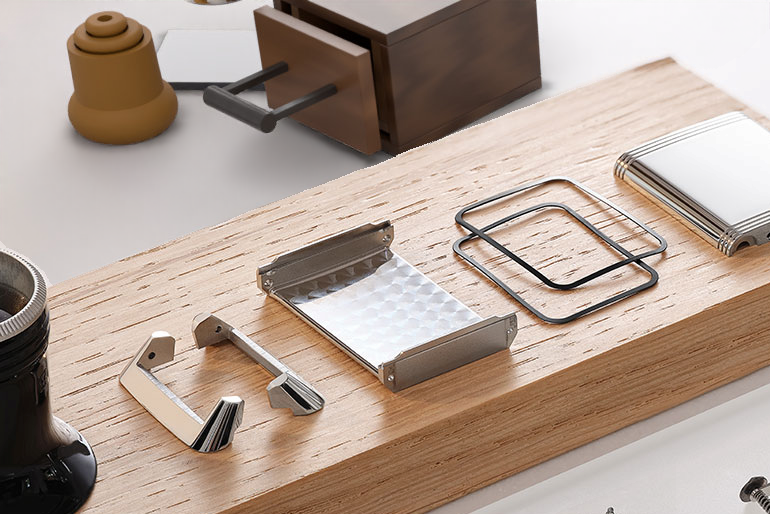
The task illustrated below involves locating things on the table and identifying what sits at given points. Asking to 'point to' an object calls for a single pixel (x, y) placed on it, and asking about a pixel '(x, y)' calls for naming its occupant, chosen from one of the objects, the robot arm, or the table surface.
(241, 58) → the coaster
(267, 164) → the table surface
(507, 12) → the cabinet
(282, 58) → the drawer
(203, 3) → the beer glass
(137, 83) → the ornamental finial
